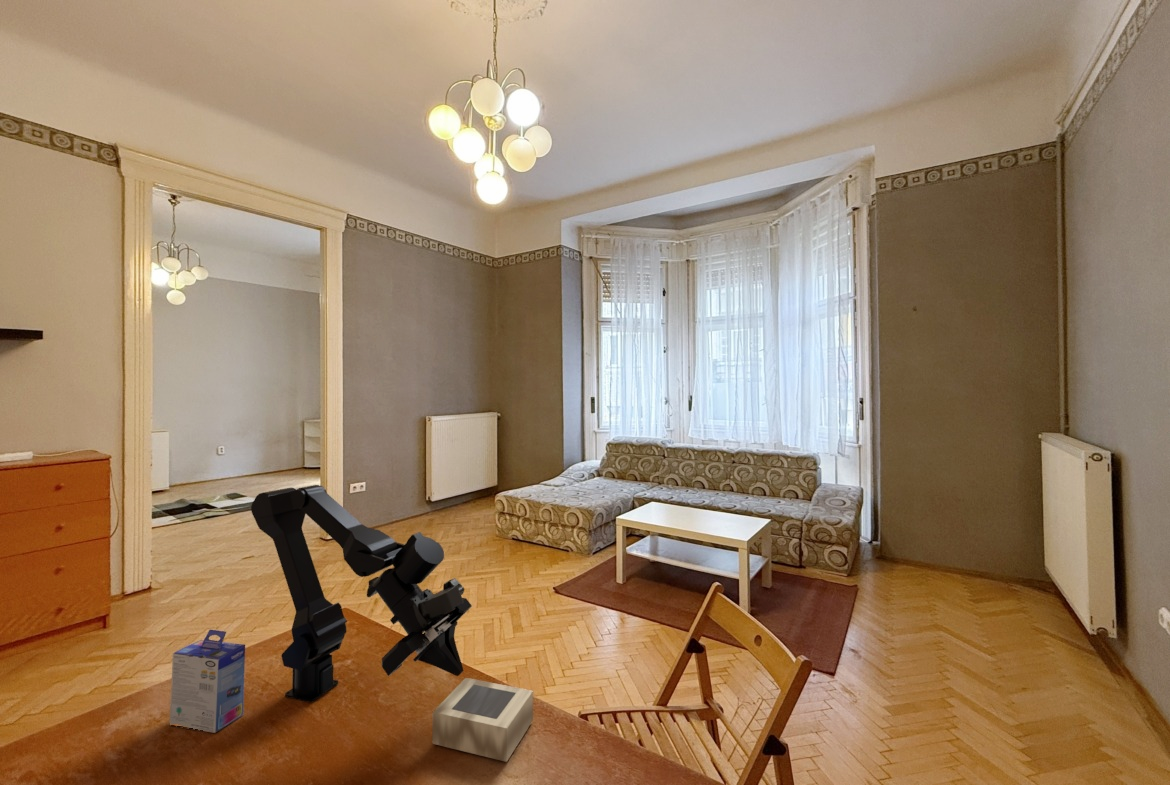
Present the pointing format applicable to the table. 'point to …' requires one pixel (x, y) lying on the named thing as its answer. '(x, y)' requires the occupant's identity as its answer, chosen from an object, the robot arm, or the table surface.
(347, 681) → the table surface
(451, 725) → the birch block
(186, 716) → the ink cartridge box
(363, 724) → the table surface
